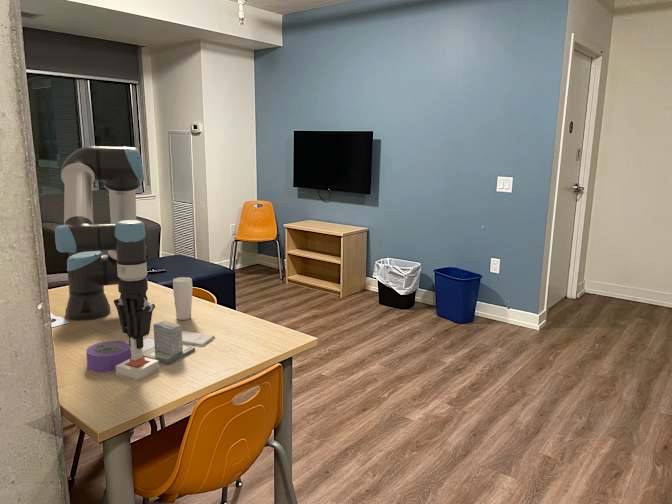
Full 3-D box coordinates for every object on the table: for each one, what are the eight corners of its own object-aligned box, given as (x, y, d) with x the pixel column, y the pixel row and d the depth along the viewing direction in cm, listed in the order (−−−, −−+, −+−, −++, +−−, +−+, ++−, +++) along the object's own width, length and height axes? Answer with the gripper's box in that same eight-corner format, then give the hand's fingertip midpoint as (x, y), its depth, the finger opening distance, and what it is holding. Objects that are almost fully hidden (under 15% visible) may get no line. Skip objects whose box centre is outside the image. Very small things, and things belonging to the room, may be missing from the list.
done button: (126, 370, 143) (126, 360, 142) (137, 364, 146) (137, 355, 146) (137, 373, 141) (137, 363, 140) (148, 367, 145) (147, 357, 144)
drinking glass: (196, 315, 192) (194, 277, 189) (189, 321, 185) (187, 282, 182) (178, 314, 192) (177, 276, 189) (171, 320, 186) (169, 281, 183)
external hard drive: (182, 334, 175) (214, 339, 172) (168, 343, 167) (202, 348, 164) (182, 330, 174) (214, 334, 171) (168, 338, 166) (202, 343, 163)
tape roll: (114, 352, 157) (113, 337, 156) (139, 361, 152) (138, 345, 151) (78, 365, 147) (77, 349, 146) (104, 376, 142) (102, 359, 141)
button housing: (116, 375, 142) (115, 365, 141) (137, 364, 149) (137, 355, 148) (138, 381, 139) (137, 371, 138) (158, 370, 146) (158, 360, 145)
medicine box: (183, 351, 156) (182, 325, 155) (171, 356, 153) (170, 329, 151) (165, 345, 160) (164, 319, 159) (154, 350, 157) (152, 323, 155)
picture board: (118, 352, 157) (117, 348, 157) (146, 339, 168) (146, 336, 168) (168, 364, 149) (168, 361, 149) (195, 350, 160) (195, 347, 160)
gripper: (103, 277, 137) (109, 358, 142) (140, 283, 132) (145, 368, 137) (125, 271, 144) (129, 349, 149) (161, 277, 139) (164, 357, 144)
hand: (137, 358), depth 143 cm, fingers closed
